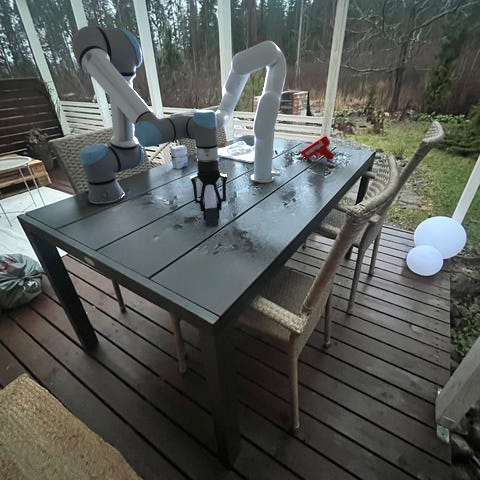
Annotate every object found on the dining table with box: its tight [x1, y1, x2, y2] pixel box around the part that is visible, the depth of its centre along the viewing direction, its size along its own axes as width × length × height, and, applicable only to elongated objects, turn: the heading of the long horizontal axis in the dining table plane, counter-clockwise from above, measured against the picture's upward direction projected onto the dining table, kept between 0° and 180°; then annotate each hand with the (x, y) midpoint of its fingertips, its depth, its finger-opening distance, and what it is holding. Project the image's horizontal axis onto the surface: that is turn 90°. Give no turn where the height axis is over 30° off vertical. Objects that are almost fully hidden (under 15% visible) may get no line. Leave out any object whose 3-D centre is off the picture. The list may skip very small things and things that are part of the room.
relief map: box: [218, 140, 274, 164], centre depth 187 cm, size 27×35×5 cm
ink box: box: [169, 144, 189, 170], centre depth 162 cm, size 8×5×12 cm, turn 135°
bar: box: [204, 185, 219, 227], centre depth 127 cm, size 61×4×7 cm, turn 7°
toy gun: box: [299, 134, 335, 162], centre depth 173 cm, size 18×4×15 cm
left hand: (211, 217), depth 108 cm, fingers closed on bar, 4 cm apart
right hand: (208, 172), depth 149 cm, fingers closed on bar, 4 cm apart
